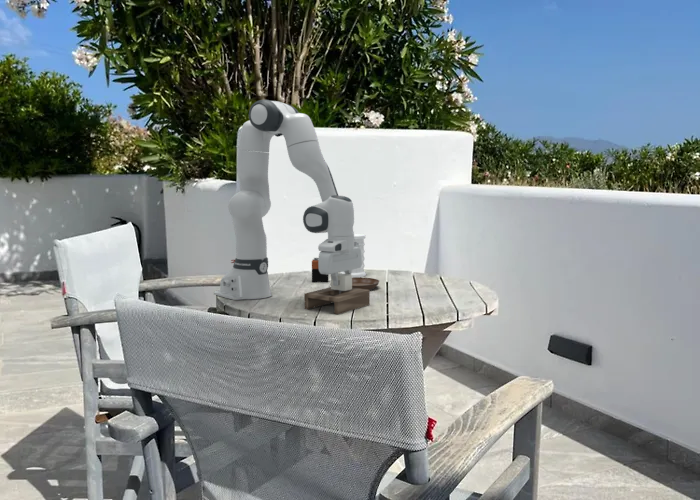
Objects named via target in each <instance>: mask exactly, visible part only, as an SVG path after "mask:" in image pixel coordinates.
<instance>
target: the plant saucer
mask: <svg viewBox="0 0 700 500" xmlns="http://www.w3.org/2000/svg"><path fill="white" fill-rule="evenodd" d="M379 283H380V280H379V279H377V278H373V277H352V288H359V289H367V290H370V291H371V290H374V289H376V288H377V286H379Z"/></svg>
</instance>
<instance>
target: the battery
mask: <svg viewBox="0 0 700 500" xmlns="http://www.w3.org/2000/svg"><path fill="white" fill-rule="evenodd" d="M318 259H319V257H313V259H312V260H311V282H312V283H328V282H329V275H325V274H321V273H320V272H319V267H318Z"/></svg>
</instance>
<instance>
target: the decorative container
mask: <svg viewBox="0 0 700 500" xmlns="http://www.w3.org/2000/svg"><path fill="white" fill-rule="evenodd" d="M365 239H366V234H364V233H363V234H361V233H360V234H359V233H354V242H357V243H358V244H359V248H360V250H361V257H362V265H361V268H357V269H352V273H351V275H352V278H358V277H361V278H365V277H366V276H367V271H365V270H364V268H365V263H364V262H365ZM339 273H342V274H345V273H344V271H343V272H339Z"/></svg>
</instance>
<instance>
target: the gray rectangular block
mask: <svg viewBox="0 0 700 500" xmlns="http://www.w3.org/2000/svg"><path fill="white" fill-rule="evenodd" d="M337 278H338V280H340V285H338V286H334V285H333V280H332V278H331V277H330V287H331V289H334V290H339V294H341V292H344V291H347V290H351V289H352V278H353V277H352V275H351V274H342V273H340V272H338V276H337Z"/></svg>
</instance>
